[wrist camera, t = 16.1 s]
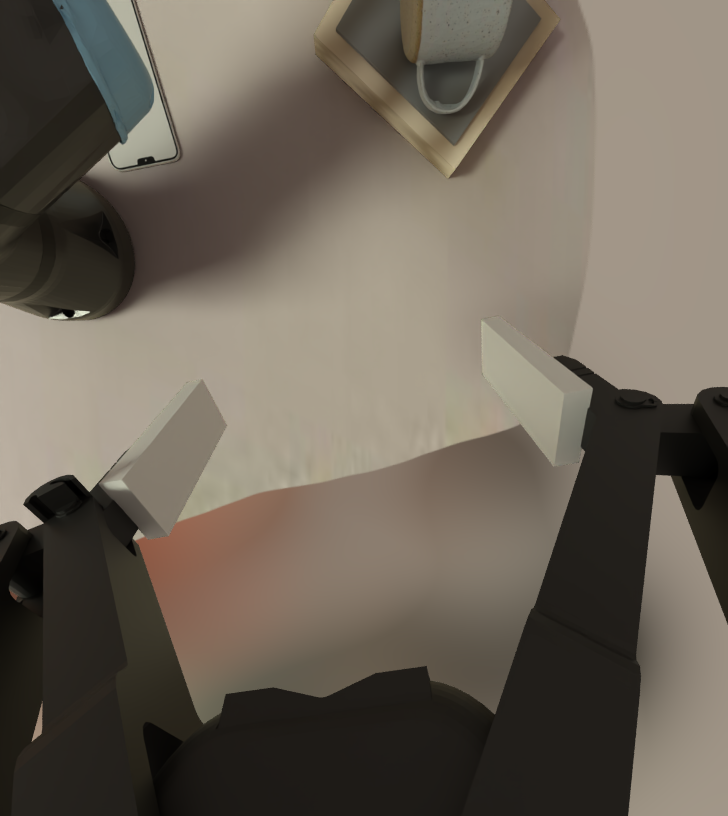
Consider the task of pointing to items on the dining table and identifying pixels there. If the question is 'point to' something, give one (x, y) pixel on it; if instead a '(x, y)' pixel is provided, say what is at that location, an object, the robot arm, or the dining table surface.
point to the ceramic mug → (451, 37)
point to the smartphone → (155, 130)
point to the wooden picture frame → (427, 73)
